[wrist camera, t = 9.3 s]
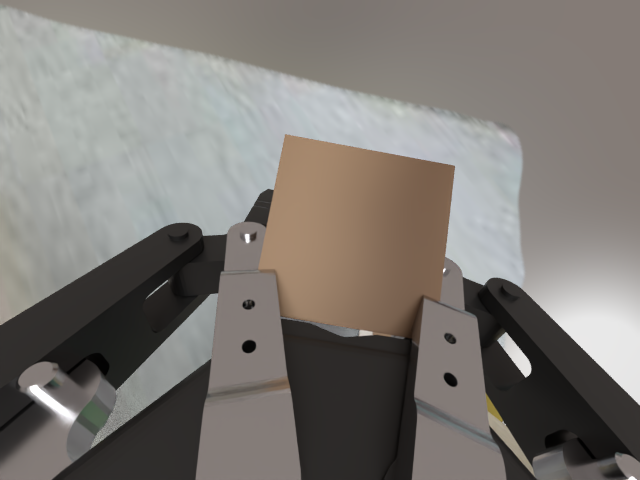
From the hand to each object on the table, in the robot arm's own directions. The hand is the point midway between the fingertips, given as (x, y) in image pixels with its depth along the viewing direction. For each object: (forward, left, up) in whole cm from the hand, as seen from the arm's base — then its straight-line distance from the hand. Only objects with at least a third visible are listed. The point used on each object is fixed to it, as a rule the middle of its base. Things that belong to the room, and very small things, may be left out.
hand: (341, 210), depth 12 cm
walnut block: (+2, -1, -5) cm, 5 cm away
